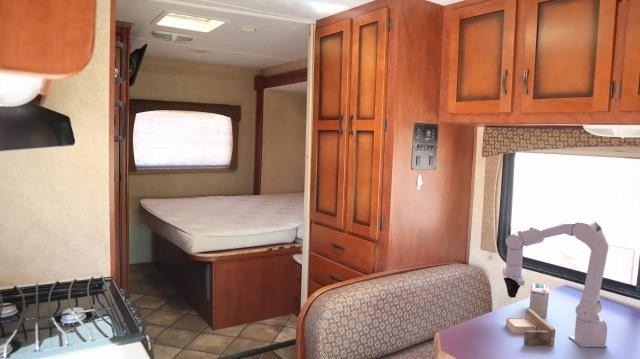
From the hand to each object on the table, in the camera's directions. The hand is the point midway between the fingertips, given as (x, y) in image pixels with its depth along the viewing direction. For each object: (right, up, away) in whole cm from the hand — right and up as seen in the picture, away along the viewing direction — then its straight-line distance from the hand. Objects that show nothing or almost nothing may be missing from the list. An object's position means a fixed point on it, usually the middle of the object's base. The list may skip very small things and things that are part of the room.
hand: (511, 296), depth 182 cm
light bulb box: (+15, -9, +9) cm, 19 cm away
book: (0, -11, -8) cm, 13 cm away
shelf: (0, -11, -12) cm, 16 cm away
